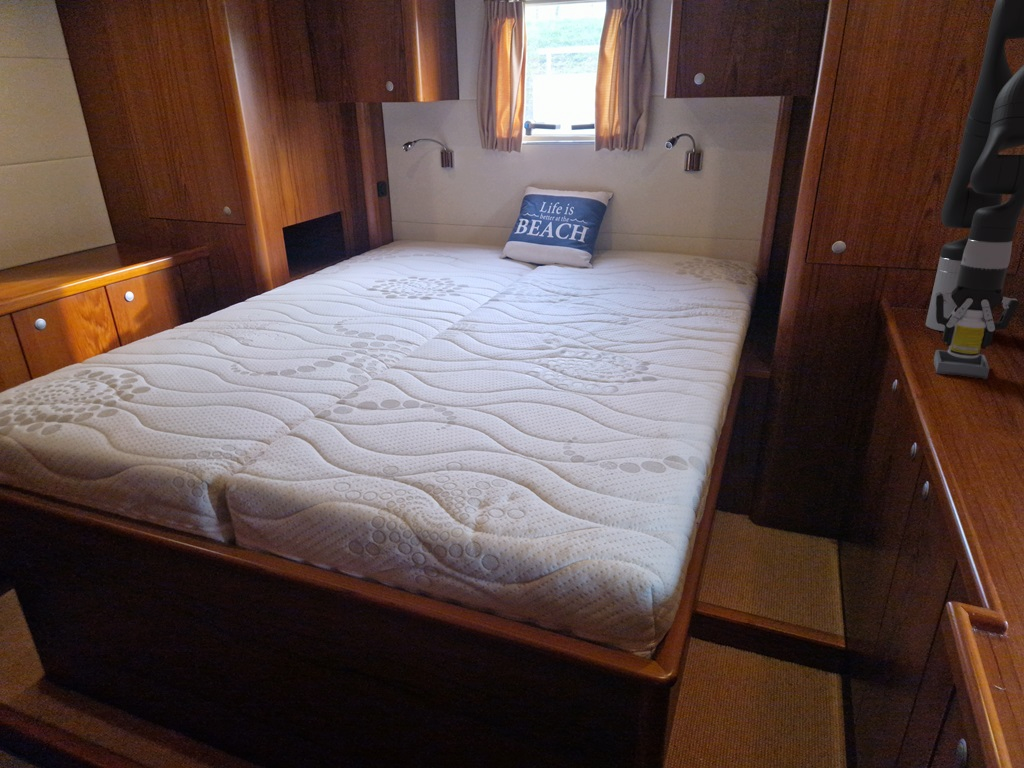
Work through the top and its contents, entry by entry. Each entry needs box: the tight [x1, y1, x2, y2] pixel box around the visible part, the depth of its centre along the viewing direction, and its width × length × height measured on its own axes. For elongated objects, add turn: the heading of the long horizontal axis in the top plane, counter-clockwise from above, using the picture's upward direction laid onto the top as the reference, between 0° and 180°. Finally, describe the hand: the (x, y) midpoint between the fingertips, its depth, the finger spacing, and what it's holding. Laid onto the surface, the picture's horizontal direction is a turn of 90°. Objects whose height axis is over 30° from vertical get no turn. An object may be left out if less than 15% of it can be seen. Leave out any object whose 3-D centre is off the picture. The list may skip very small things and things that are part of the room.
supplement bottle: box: [947, 309, 986, 359], centre depth 133 cm, size 5×5×10 cm
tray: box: [933, 349, 991, 380], centre depth 136 cm, size 9×9×2 cm
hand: (964, 345), depth 134 cm, fingers closed on supplement bottle, 5 cm apart
